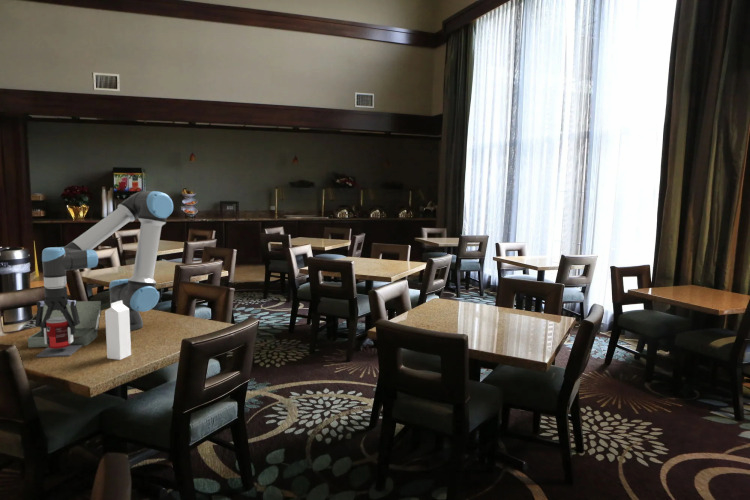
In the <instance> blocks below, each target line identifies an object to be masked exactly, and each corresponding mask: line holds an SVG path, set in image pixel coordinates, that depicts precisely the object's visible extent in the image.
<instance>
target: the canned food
mask: <svg viewBox="0 0 750 500" xmlns="http://www.w3.org/2000/svg"><path fill="white" fill-rule="evenodd" d="M68 327H69V324H68V322H67V320H66V319H65V317H53V318H50V319H48V320H46V328H47V342H48V347H49V348H52V349H57V348H64V347H67V346H69V345H70V343H69V342H68ZM48 347H47V348H48Z"/></svg>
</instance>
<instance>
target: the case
mask: <svg viewBox="0 0 750 500" xmlns="http://www.w3.org/2000/svg"><path fill="white" fill-rule="evenodd" d="M66 306H67V308H68V311H69V313H70V315H71V317H72V319H73V316H72V312H71V308H70V306H69V303H68V304H67V305H66ZM47 308H48V307H47V305H46V304H44V309H43V317H42V322H43V319H44V317H45V314H46V311H47ZM76 308H77V312H78V316H79V320H80V324H78V325H76V326H75V334H74V335H73V342H72V343H70V345H82V347H84V346H88V345H89V344H91V343H92V342H93V341H94V340H95V339H97V338H98V332H99V328H100V319H101V314H102V301H101V300H93V301H92V300H90V301H89V300H88V301H85V300H84V301H82V300H81V301H80V300H79V301H77V302H76ZM53 317H64V315H63V313H62V312H61V311H60V310H54V311H52V314H51V316H50V318H53ZM27 347H28V348H29V349H30V348H48V344H45V340H44V336H42V332H41V327H39V331H37V332H36V333H34V334H32V335H30V336H29V337H27Z"/></svg>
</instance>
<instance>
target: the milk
mask: <svg viewBox="0 0 750 500" xmlns="http://www.w3.org/2000/svg"><path fill="white" fill-rule="evenodd" d="M104 313H105V314H104V315H105V316H104V317H105V336H106V356H107V357H106V358H107V359H111V360H118V361H121V360H123V359H125V358H128V357H131V356H132V344H131V342H132V341H131V331H130V318H129V308H128V307H126V306H125V305H124V304H123V301H122V300H121V301H117V302H114V303H111V307H108V309H106V310H105V311H104Z"/></svg>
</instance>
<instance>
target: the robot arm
mask: <svg viewBox="0 0 750 500" xmlns="http://www.w3.org/2000/svg"><path fill="white" fill-rule="evenodd" d="M173 211H174V202H173V200H172V198H171V197H170V196H169V195H168V194H167V193H164V192H161V191H156V190H153V191H152V190H150V191H148V190H146V191H145V190H141V191H137V192H136V193H133V194H131V196H129V197H128V198H126V199H124V200H123V201H122V202H120V203H118V205H117V208H116V209H115V210H113V211H112V212H110V213H109V214H108V215H107V216H105V217H103V218H102V219H101V220H100V221H98V222H97V223H96V224H94V225H93V226H91V227H90V228H89V229H88V230H87V229H86V231H85V232H83V233H82V234H80V235H79V236H78V237H76V238H75V239H73V240H72V241H70V242H69V243H68V244H67V245H65V246H59V247H58V246H55V247H46V248H44V249H43V250H42V251H41V252H42V253H41V262H42V263H41V264H42V272H43V287H44V291H43V292H44V300H39V301H37V302H36V307H37V308H36V317H35V318H36V319H35V327H39V328H40V327H41V332H42V336H44V340H45V344H48V342H47V328H46V320H48V319H50V316H51V314H52V311H54V310H60V311H61V312H62V313H63V315H64V317H65V319H66V320H67V322H68V324H69V327H68V342H69V343H72V342H73V335H74V334H75V326H76V325H78V324H80V320H79V316H78V312H77V308H76V302H78V300H76V299H74V300H70V299H69V297H68V287H67V282H68V281H67V271H73V270H76V271H77V270H81V269H84V270H85V269H87V270H88V269H91V268H96V267H97V266H98V264H99V256H98V253H97V251H96V250H94V248H97V246H99V245H100V244H101V243H103V242H105V240H107V239H108V238H109V237H111V236H113V234H114V233H116V232H118V231H119V230H120V229H122V227H124V226H125V225H127V224H128V223H133V222H134V221H136V220H138V221H139V222H140V229H139V235H138V241H137V247H136V252H135V260H134V266H133V271H132V272H133V273H132V275H131V276H130V277H129V278H122V279H114V280H111V281H110V282H109V287H108V290H109V303H110V304H109V305H110V307H109V308H111V303H114V302H117V301H121V300H122V301H123V304H124V305H125V306H126V307H128V308H129V318H130V332H131V331H135V330H139V329H142V328H143V327H144V321H143V318H142V315H141V313H140V312H145V313H146V312H148V311H151V310H152V309H153V308H155V306H156V305H157V304H158V303H159V300H160V294H159V291H158V289H156V288H157V281H156V280H155V279H154V275H155V270H156V263H157V257H158V250H159V244H160V238H161V232H162V227H163V226H164V225H166V224H167V218H168V217H170V215H171V214H172V213H173ZM68 303H69V306H70V308H71V312H72V316H73V319H72V317H71V315H70V313H69V311H68V308H67V306H66V305H67V304H68ZM44 304H46V305H47V307H48V308H47V311H46V314H45V317H44V319H43V322H42V317H43V309H44Z"/></svg>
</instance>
